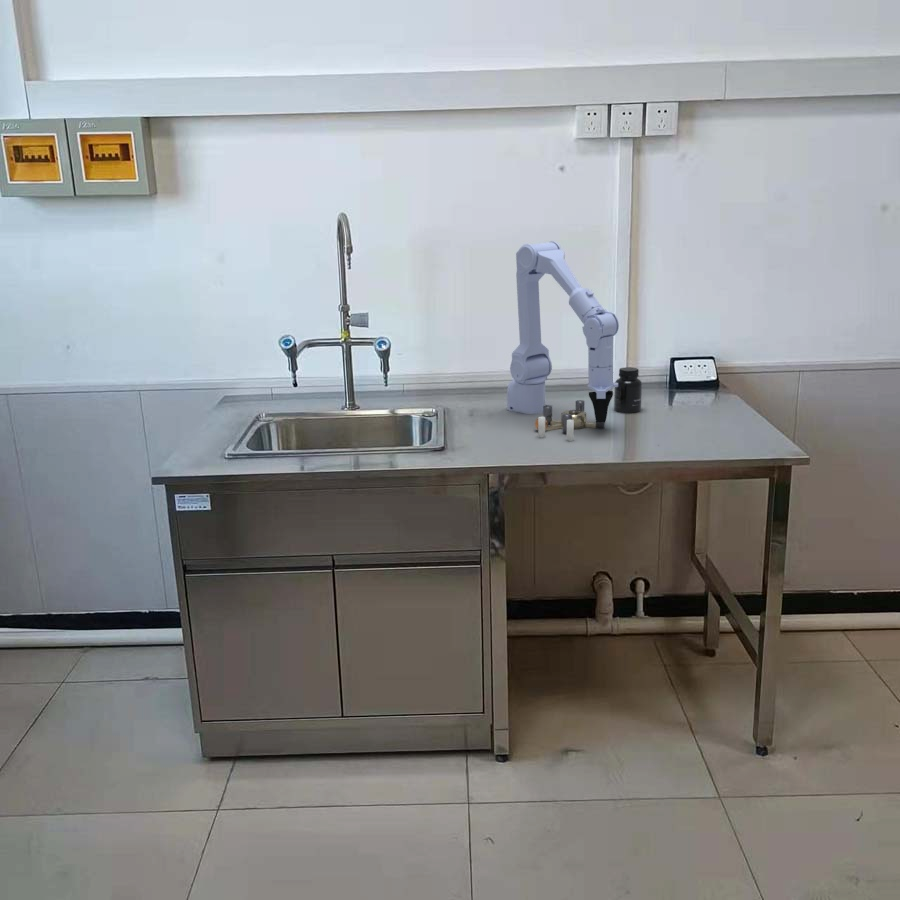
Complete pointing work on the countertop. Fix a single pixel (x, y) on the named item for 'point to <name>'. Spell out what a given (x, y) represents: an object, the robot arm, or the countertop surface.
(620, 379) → the supplement bottle
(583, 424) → the capstan
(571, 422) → the white rounded posts
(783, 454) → the countertop surface
